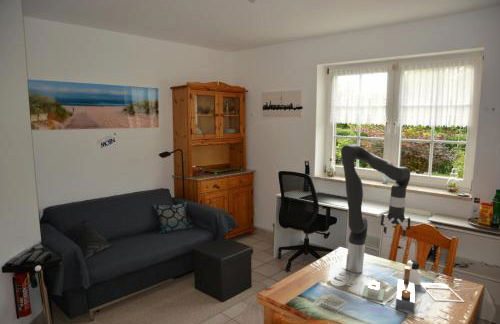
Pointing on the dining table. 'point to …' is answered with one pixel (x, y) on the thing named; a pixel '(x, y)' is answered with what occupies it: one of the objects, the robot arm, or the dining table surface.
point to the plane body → (405, 293)
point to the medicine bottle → (414, 272)
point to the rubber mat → (379, 298)
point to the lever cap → (373, 288)
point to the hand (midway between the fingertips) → (394, 234)
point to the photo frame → (439, 286)
